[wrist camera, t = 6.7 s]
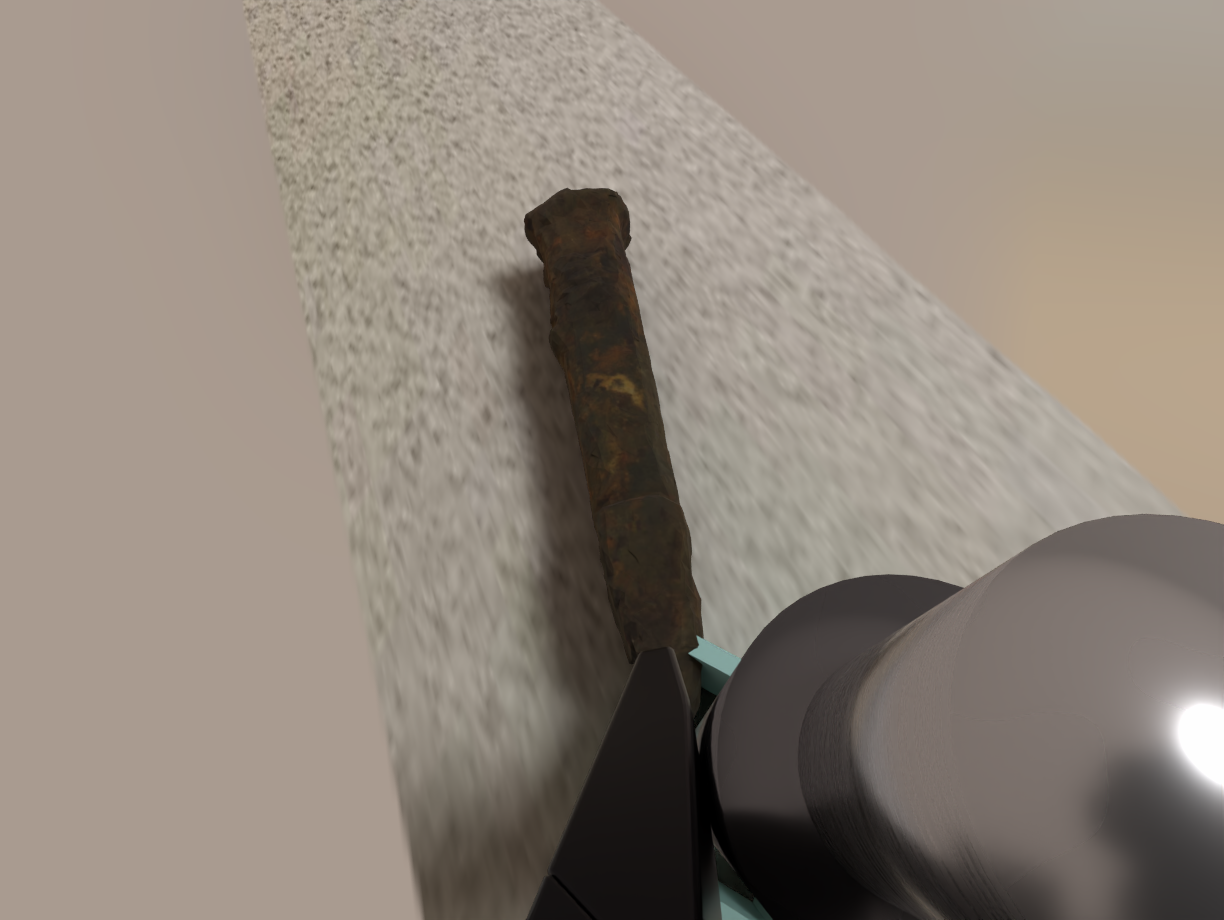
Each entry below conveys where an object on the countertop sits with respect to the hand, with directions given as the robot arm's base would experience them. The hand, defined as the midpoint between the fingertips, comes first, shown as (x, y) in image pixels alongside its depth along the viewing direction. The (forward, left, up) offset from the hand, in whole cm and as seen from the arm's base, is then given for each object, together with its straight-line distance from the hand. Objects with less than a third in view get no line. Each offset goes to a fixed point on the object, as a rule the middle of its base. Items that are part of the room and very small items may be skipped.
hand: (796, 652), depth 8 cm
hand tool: (+7, +6, -13) cm, 16 cm away
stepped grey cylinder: (-1, -1, -7) cm, 7 cm away
